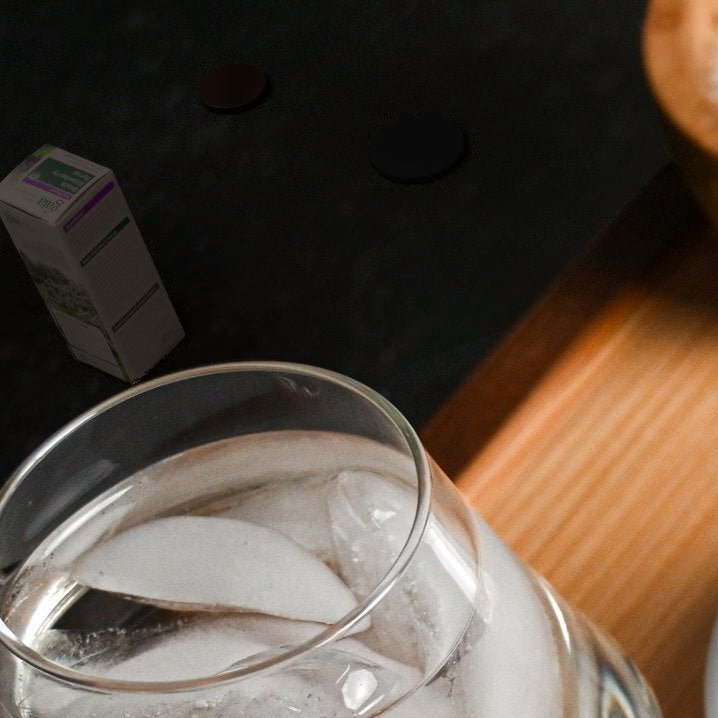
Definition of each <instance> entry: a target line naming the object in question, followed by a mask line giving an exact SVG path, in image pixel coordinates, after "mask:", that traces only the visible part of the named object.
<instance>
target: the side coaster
mask: <svg viewBox="0 0 718 718" xmlns="http://www.w3.org/2000/svg"><path fill="white" fill-rule="evenodd" d="M466 147H467V145H466V140H465V136H464V133H463V130H462V129H461V128H460V127H459V126H458V125H457V124H456V123H455V122H454V121H452V120H451V119H449V118H446V117H444V116H440V115H436V114H428V113H427V114H426V113H424V114H422V113H421V114H413V115H408V116H403V117H400V118H398V119H395V120H393V121H391V122H389V123H388V124H386V125H385V126H383V127H382V128H380V129H379V131H377V132H376V134H374V136H373V138H372V140H371V141H370V144H369V149H368V156H369V159H370V163H371V165H372V167H373V169H374V170H375V172H377V174H378V175H380V176H381V177H382V178H384V179H386V180H389V181H391V182H394V183H399V184H403V185H417V184H418V185H419V184H424V183H428V182H433V181H435V180H438V179H440V178H442V177H444V176H446V175H448V174H449V173H451V172H452V171H453V170H455V169H456V168H457V166H459V164H460V163H461V161H462V160H463V159H464V157H465V154H466V149H467V148H466Z"/></svg>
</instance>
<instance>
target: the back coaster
mask: <svg viewBox="0 0 718 718" xmlns="http://www.w3.org/2000/svg"><path fill="white" fill-rule="evenodd" d="M268 90H269V83H268V80H267V77H266V75H265V72H263V71H262V70H261V69H260V68H259V67H257V66H256V65H253V64H250V63H249V64H248V63H240V62H239V63H237V62H236V63H229V64H225V65H222V66H218V67H217V68H214V69H212V70H210V71H209V72H208V73H206V75H204V76H203V77H202V78H201V79H200V81H199V82H198V85H197V96H198V99H199V101H200V103H201V106H203V107H204V109H206V110H209V112H210V111H211V112H213V113H216V114H223V115H228V114H230V115H231V114H238V113H242V112H245V111H247V110H250V109H252V108H254V107H255V106H257V105H258V104H259V103H261V102H262V101H263V100H264V98H265V97H266V95H267V93H268Z"/></svg>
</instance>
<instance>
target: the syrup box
mask: <svg viewBox="0 0 718 718" xmlns="http://www.w3.org/2000/svg"><path fill="white" fill-rule="evenodd" d="M0 219H1V221H2V223H3V226H4V227H5V229H6V231H7V233H8V234H9V237H10V239H11V241H12V243H13V244H14V247H15V248H16V249H17V252H18V254H19V256H20V259H21V260H22V261H23V264H24V266H25V268H26V269H27V271H28V273H29V275H30V277H31V279H32V281H33V283H34V286H35V287H36V289H37V291H38V293H39V295H40V296H41V298H42V301H43V302H44V305H45V306H46V309H47V310H48V312H49V314H50V316H51V318H52V319H53V321H54V323H55V326H56V328H57V329H58V332H59V333H60V335H61V336H62V339H63V341H64V343H65V345H66V347H67V349H68V351H69V352H70V355H71V357H72V358H73V360H75V361H77V362H79V363H81V364H84V365H86V366H89V367H90V368H93V369H95V370H98V371H99V372H101V373H104V374H106V375H109V376H111V377H113V378H114V379H117V380H119V381H121V382H124V383H126V384H128V383H127V382H132V381H133V380H134V379H136V378H141V377H142V376H144V375H146V373H144V372H145V371H147V370H149V369H150V368H153V366H154V364H155V363H158V362H159V361H160V360H161V359H162V358H163V359H165V357H166V356H167V355H169V354H170V353H171V351H173V349H175V347H176V346H177V345H179V344H180V343H181V341H182V340H183V339H185V337H186V332H185V330H184V328H183V326H182V322H181V321H180V319H179V317H178V315H177V312H176V310H175V307H174V306H173V303H172V301H171V299H170V296H169V294H168V292H167V289H166V287H165V285H164V282H163V280H162V278H161V276H160V274H159V271H158V269H157V267H156V265H155V263H154V260H153V258H152V256H151V254H150V252H149V249H148V247H147V245H146V243H145V241H144V238H143V236H142V233H141V232H140V229H139V227H138V224H137V223H136V219H135V218H134V216H133V213H132V210H131V209H130V207H129V204H128V202H127V200H126V197H125V195H124V193H123V191H122V188H121V186H120V184H119V182H118V180H117V177H116V175H115V173H114V171H113V169H111V168H109V167H106V166H104V165H101V164H98V163H96V162H93V161H91V160H89V159H86V158H85V157H81V156H80V155H76V154H74V153H72V152H69V151H67V150H65V149H62V148H59V147H57V146H55V145H53V144H50V143H44V144H43V145H42V146H41V147H39V148H38V149H36V150H35V151H34V152H33V153H31V154H30V155H28V156H27V157H26V158H25V159H24V160H23V161H21V162H20V163H19V164H18V165H17V166H16V167H14V168H13V169H12V171H10V172H9V173H8V174H7V175H6V176H5V177H4V178H3V180H1V181H0ZM166 354H167V355H166ZM165 355H166V356H165ZM164 356H165V357H164ZM163 359H162V360H163ZM148 374H149V373H147V375H148ZM147 375H146V376H147ZM138 381H139V382H141V380H138ZM138 381H134V382H133V383H130V384H129V385H131V386H134V385H133V384H135V383H137V384H139V382H138Z"/></svg>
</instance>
